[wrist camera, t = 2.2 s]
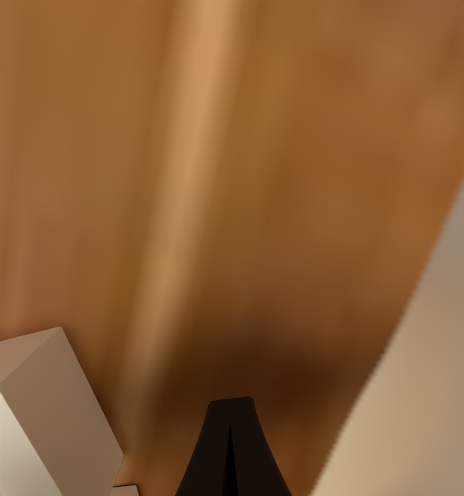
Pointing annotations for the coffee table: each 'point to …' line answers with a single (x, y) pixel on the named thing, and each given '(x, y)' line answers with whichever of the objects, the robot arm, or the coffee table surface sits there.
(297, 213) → the coffee table surface
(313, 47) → the coffee table surface
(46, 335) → the white and teal box
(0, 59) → the coffee table surface
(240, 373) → the coffee table surface
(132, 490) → the board
